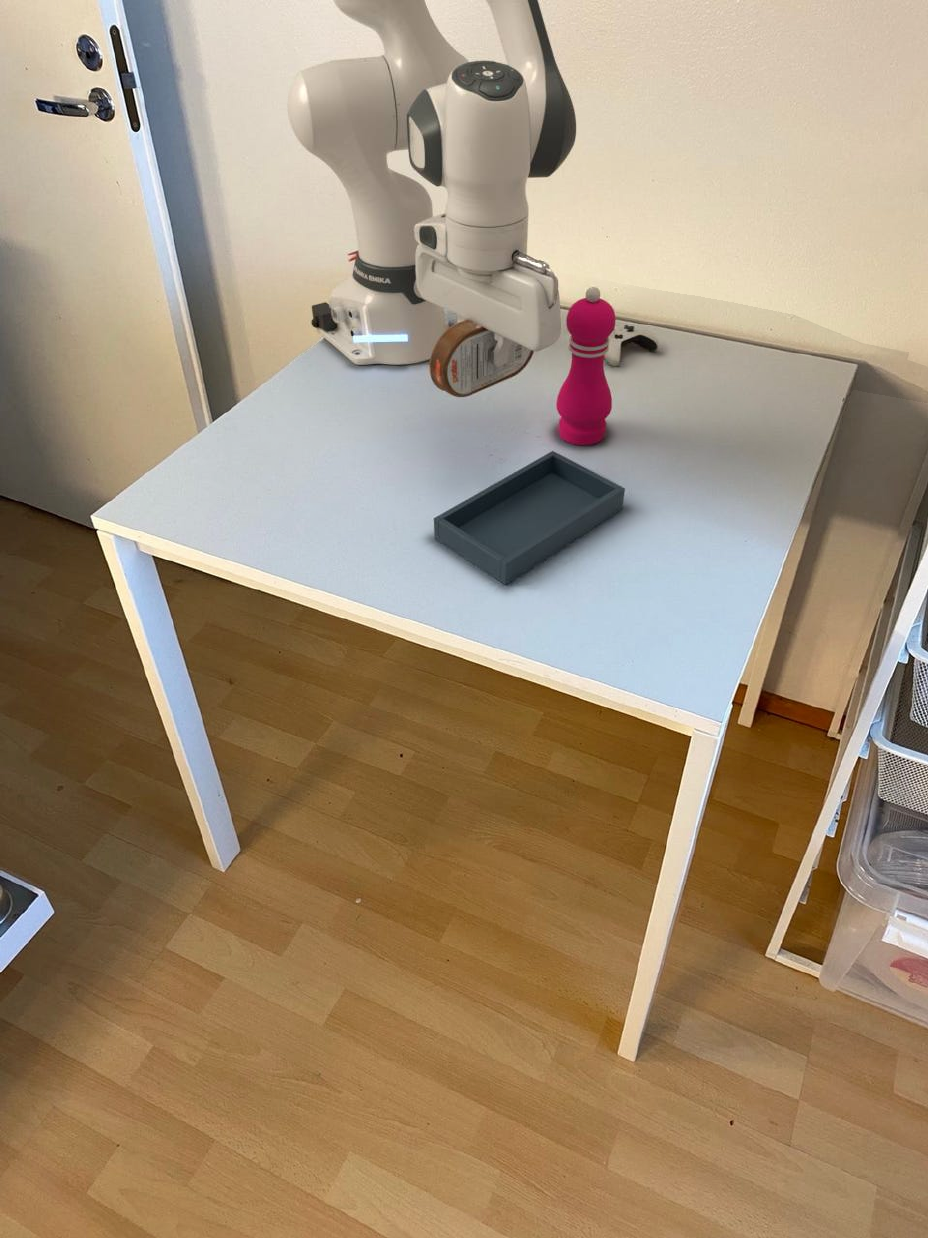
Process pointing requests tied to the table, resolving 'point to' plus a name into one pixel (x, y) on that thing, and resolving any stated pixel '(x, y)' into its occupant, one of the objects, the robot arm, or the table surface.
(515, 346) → the tin
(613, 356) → the game controller
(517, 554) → the tray
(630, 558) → the table surface
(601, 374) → the pepper mill
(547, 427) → the table surface
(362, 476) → the table surface
